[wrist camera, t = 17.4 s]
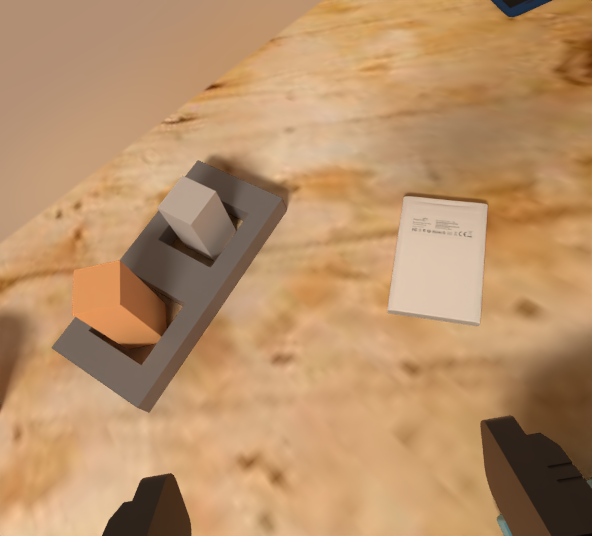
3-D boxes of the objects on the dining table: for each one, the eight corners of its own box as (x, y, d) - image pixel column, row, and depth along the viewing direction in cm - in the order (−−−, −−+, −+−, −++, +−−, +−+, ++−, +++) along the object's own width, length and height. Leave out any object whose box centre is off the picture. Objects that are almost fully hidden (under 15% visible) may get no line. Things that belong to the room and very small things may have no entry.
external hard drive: (386, 315, 47) (402, 203, 52) (477, 328, 45) (485, 211, 50) (387, 309, 46) (403, 194, 50) (481, 323, 44) (488, 202, 49)
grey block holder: (205, 173, 56) (182, 129, 50) (286, 211, 53) (273, 168, 46) (66, 354, 49) (17, 331, 43) (149, 412, 46) (110, 396, 39)
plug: (167, 341, 48) (120, 304, 39) (127, 349, 49) (71, 314, 40) (165, 303, 50) (119, 260, 41) (127, 311, 50) (73, 270, 41)
